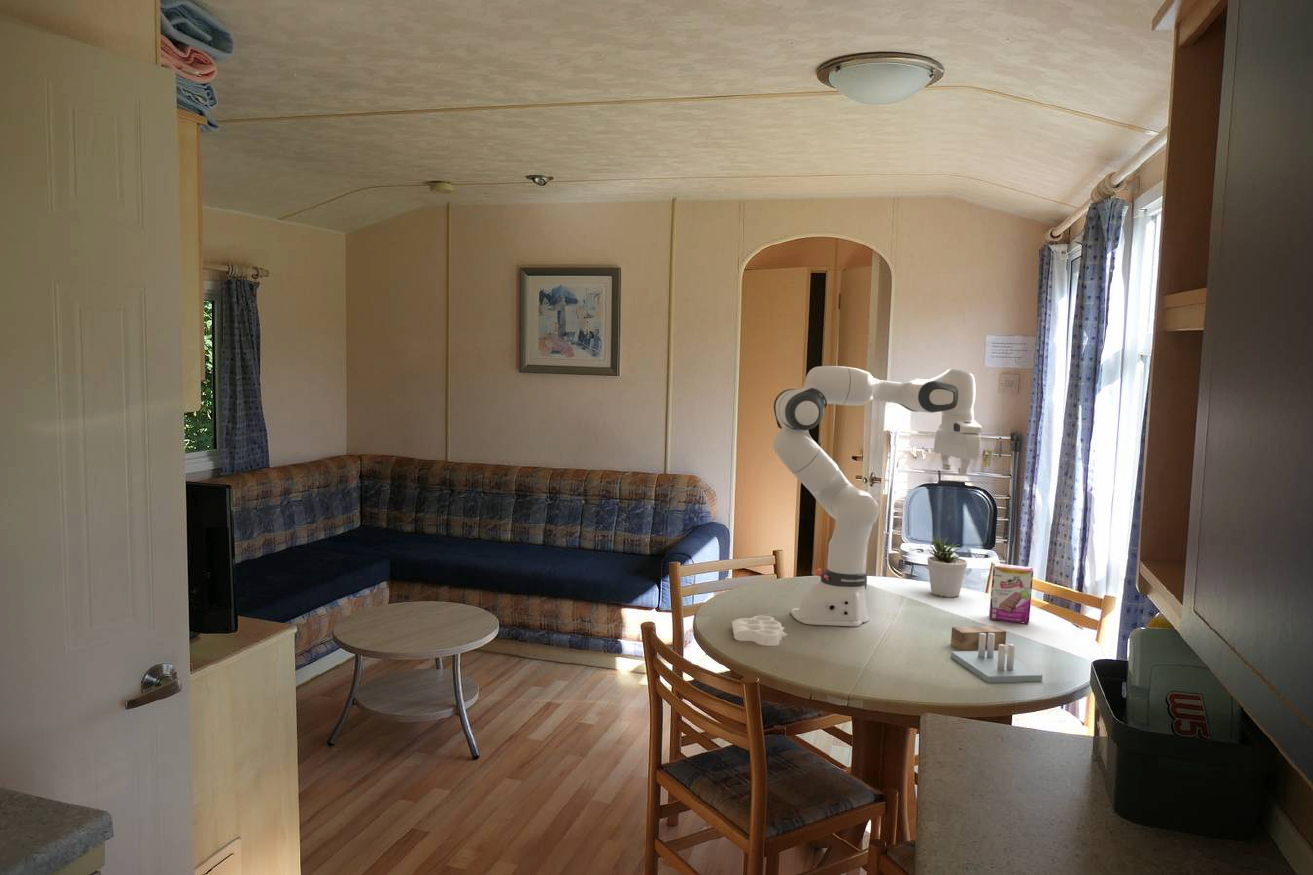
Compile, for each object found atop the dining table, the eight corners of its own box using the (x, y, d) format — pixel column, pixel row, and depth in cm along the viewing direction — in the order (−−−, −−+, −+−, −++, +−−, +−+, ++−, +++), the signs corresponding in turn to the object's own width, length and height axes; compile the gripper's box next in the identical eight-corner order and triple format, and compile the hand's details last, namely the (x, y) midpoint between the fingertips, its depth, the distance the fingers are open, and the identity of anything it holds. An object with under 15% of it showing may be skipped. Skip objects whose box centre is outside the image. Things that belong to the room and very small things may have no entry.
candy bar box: (989, 620, 260) (992, 566, 258) (988, 615, 265) (992, 562, 263) (1029, 624, 256) (1033, 570, 255) (1028, 620, 261) (1032, 566, 260)
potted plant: (962, 590, 294) (966, 532, 293) (967, 600, 281) (971, 539, 279) (923, 587, 297) (927, 529, 295) (926, 597, 284) (930, 536, 282)
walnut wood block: (960, 651, 230) (961, 632, 230) (950, 645, 235) (951, 627, 235) (1005, 649, 233) (1006, 631, 232) (994, 643, 238) (995, 625, 237)
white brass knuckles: (731, 625, 247) (782, 627, 246) (734, 646, 229) (790, 648, 229) (731, 614, 247) (783, 616, 246) (735, 633, 229) (790, 635, 228)
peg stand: (988, 682, 207) (990, 651, 206) (950, 657, 224) (952, 628, 224) (1042, 681, 209) (1044, 650, 208) (1000, 656, 226) (1002, 628, 226)
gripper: (930, 422, 264) (927, 467, 265) (964, 427, 244) (961, 476, 245) (949, 422, 265) (946, 467, 266) (985, 427, 245) (982, 476, 246)
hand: (954, 471), depth 255 cm, fingers open, 8 cm apart
